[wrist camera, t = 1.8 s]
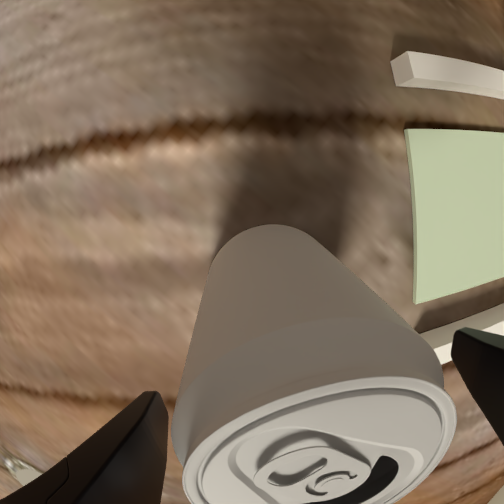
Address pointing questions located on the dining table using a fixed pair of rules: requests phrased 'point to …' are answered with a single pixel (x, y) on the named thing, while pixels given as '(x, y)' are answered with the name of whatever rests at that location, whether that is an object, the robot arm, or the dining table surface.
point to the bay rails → (468, 81)
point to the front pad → (456, 209)
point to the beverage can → (304, 383)
